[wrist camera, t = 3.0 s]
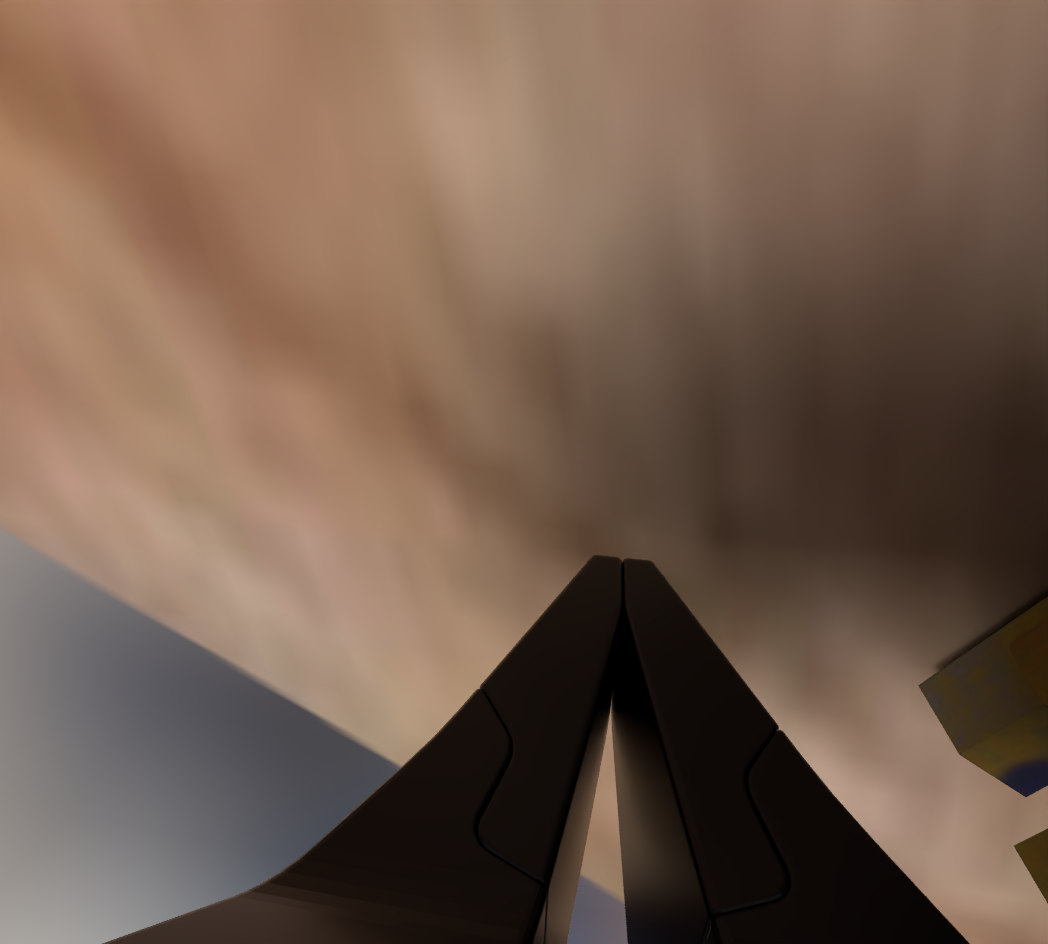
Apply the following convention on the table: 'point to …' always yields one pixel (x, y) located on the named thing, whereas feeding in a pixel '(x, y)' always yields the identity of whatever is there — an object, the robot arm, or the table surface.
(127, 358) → the table surface
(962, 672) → the pipe connector
